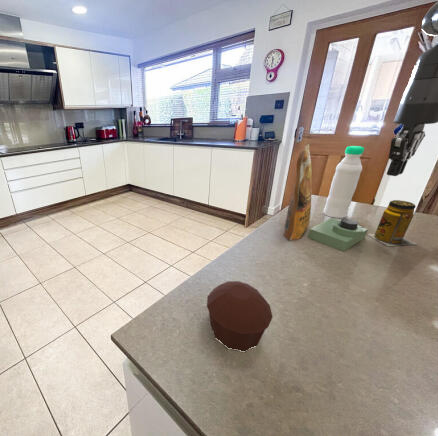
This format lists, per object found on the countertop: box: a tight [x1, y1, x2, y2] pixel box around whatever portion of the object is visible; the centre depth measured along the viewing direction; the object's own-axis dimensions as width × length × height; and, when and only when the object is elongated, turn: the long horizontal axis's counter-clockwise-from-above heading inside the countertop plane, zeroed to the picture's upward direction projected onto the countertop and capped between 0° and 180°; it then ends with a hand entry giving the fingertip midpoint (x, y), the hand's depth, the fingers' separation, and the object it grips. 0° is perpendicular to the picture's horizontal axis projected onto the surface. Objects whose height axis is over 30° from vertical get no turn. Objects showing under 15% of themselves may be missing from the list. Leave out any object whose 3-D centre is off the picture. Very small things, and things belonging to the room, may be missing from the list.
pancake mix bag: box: [283, 142, 313, 242], centre depth 74 cm, size 7×19×28 cm, turn 136°
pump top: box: [339, 218, 359, 230], centre depth 70 cm, size 4×4×2 cm
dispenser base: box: [307, 217, 369, 252], centre depth 73 cm, size 13×10×5 cm
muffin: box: [206, 280, 274, 352], centre depth 44 cm, size 12×11×10 cm
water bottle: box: [323, 145, 365, 219], centre depth 83 cm, size 7×7×25 cm
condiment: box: [367, 199, 417, 247], centre depth 69 cm, size 7×8×12 cm
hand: (394, 174), depth 61 cm, fingers closed
